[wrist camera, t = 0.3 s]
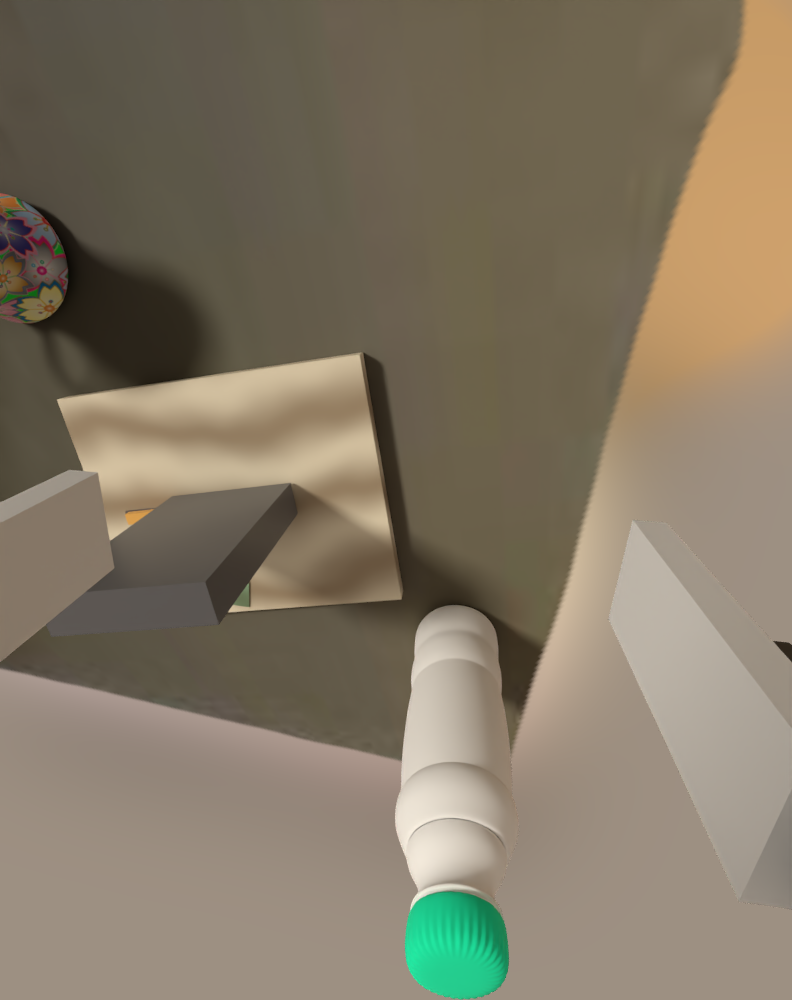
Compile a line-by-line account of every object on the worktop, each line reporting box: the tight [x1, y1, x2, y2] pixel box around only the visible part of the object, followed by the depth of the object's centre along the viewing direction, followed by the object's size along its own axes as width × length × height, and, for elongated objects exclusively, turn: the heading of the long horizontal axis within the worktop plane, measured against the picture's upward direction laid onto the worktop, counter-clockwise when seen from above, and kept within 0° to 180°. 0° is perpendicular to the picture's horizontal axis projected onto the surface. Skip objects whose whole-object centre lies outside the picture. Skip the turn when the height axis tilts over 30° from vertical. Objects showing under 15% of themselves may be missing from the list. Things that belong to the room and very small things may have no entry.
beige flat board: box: [57, 352, 403, 612], centre depth 43 cm, size 20×24×2 cm
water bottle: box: [395, 605, 519, 999], centre depth 35 cm, size 7×7×25 cm
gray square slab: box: [46, 483, 298, 637], centre depth 35 cm, size 3×14×15 cm, turn 99°
